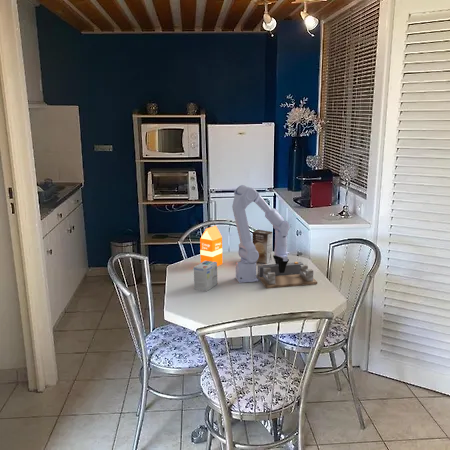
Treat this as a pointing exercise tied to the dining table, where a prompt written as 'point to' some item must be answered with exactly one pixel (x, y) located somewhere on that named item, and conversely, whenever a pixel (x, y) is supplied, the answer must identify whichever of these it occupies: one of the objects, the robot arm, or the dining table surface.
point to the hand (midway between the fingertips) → (280, 271)
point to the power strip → (290, 269)
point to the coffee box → (263, 245)
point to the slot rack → (287, 278)
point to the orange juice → (211, 245)
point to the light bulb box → (205, 275)
